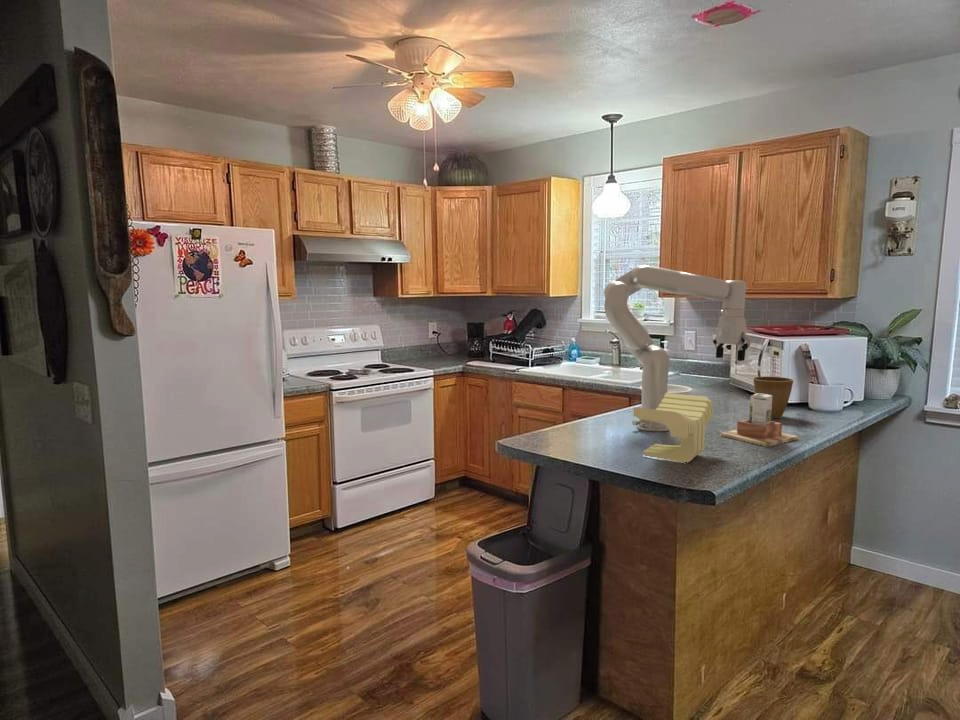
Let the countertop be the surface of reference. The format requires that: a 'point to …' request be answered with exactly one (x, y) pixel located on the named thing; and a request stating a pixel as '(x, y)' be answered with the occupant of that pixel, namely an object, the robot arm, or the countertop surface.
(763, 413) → the syrup box
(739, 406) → the countertop surface
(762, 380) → the plant pot
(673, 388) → the soup bowl
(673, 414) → the slatted curved stool
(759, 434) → the terracotta box on board
